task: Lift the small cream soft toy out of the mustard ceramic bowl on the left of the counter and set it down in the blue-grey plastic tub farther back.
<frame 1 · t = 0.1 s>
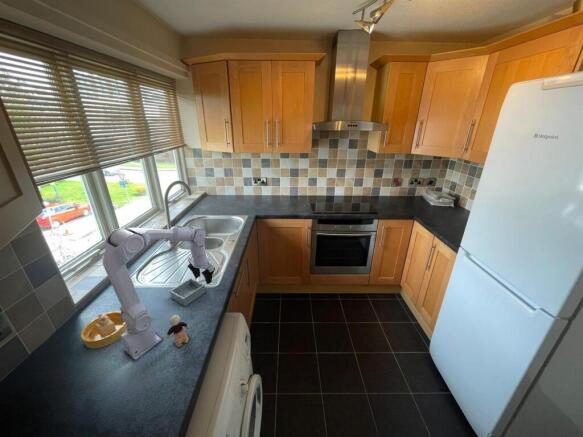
hand: (203, 280, 105), 10 cm above the worktop, tool pointing down, fingers open, 7 cm apart
grandmother figurine: (181, 343, 87), on the worktop
bowl: (108, 332, 91), on the worktop
tub: (188, 294, 111), on the worktop
toy: (107, 331, 91), resting on bowl
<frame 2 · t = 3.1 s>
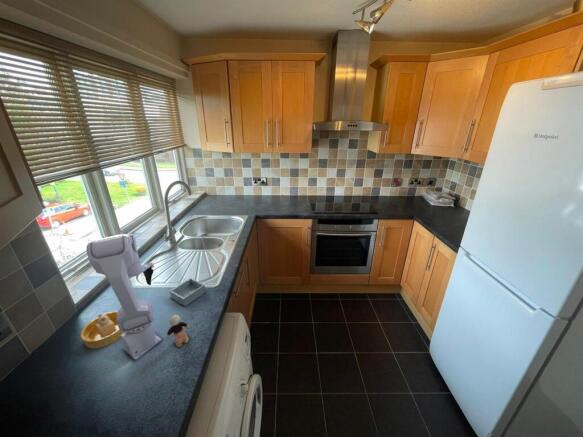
hand: (140, 289, 100), 9 cm above the worktop, tool pointing down, fingers open, 7 cm apart
nothing on the worktop moved.
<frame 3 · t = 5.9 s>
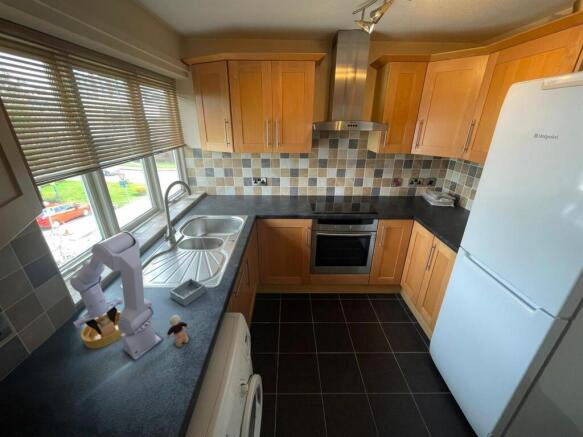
hand: (106, 328, 90), 2 cm above the worktop, tool pointing down, fingers closed on toy, 4 cm apart
toy: (107, 331, 91), point 1 cm above the worktop, touching bowl, gripper
everything else where it was.
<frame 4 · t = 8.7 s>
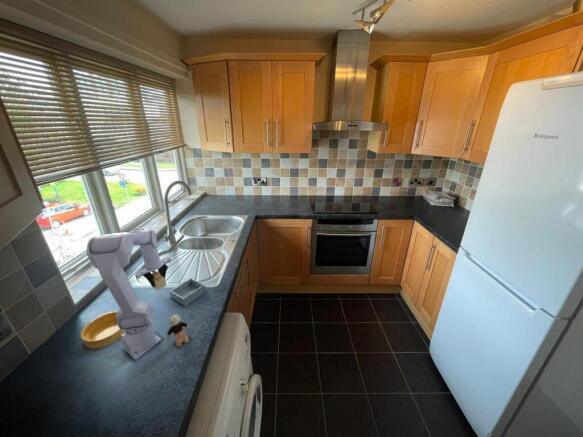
hand: (158, 282, 104), 9 cm above the worktop, tool pointing down, fingers closed on toy, 4 cm apart
toy: (159, 286, 105), point 8 cm above the worktop, touching gripper
everything else where it was.
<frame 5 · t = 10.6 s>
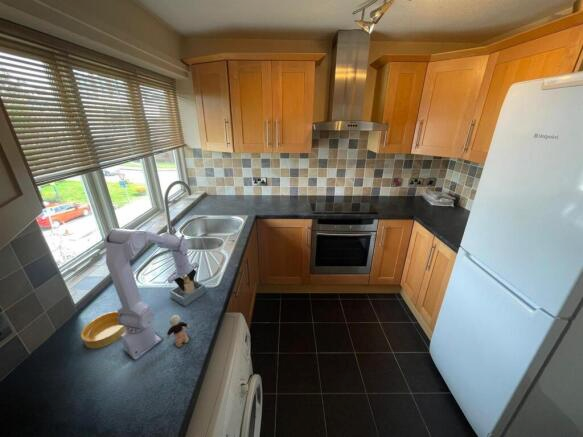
hand: (187, 287, 109), 4 cm above the worktop, tool pointing down, fingers closed on toy, 4 cm apart
toy: (187, 290, 110), point 3 cm above the worktop, touching gripper
everything else where it was.
when the fingers open (2 cm above the worktop, at t = 11.8 s): toy stays where it is, resting on tub.
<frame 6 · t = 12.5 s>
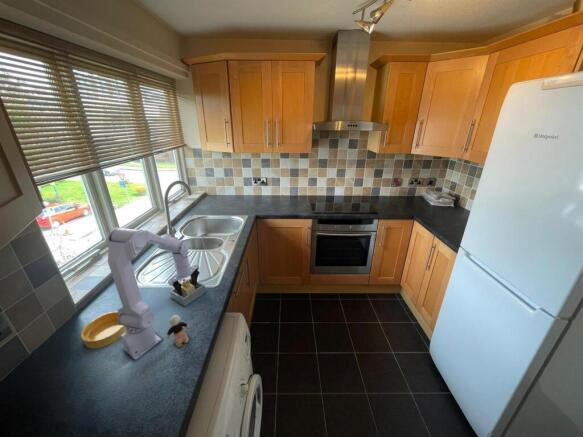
hand: (187, 289, 109), 3 cm above the worktop, tool pointing down, fingers open, 7 cm apart
toy: (188, 293, 111), resting on tub
everything else where it was.
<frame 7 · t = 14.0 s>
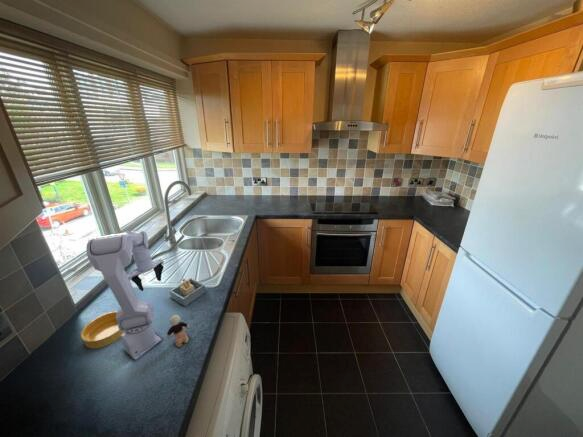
hand: (150, 284, 103), 9 cm above the worktop, tool pointing down, fingers open, 7 cm apart
nothing on the worktop moved.
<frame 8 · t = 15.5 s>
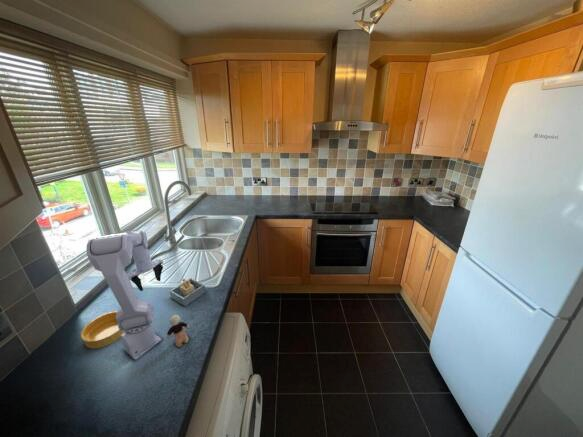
hand: (150, 285, 103), 9 cm above the worktop, tool pointing down, fingers open, 7 cm apart
nothing on the worktop moved.
at the end: toy inside the target area in the tub (0.1 cm from its centre), point 0.5 cm above the tub's base; the gripper is holding nothing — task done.
